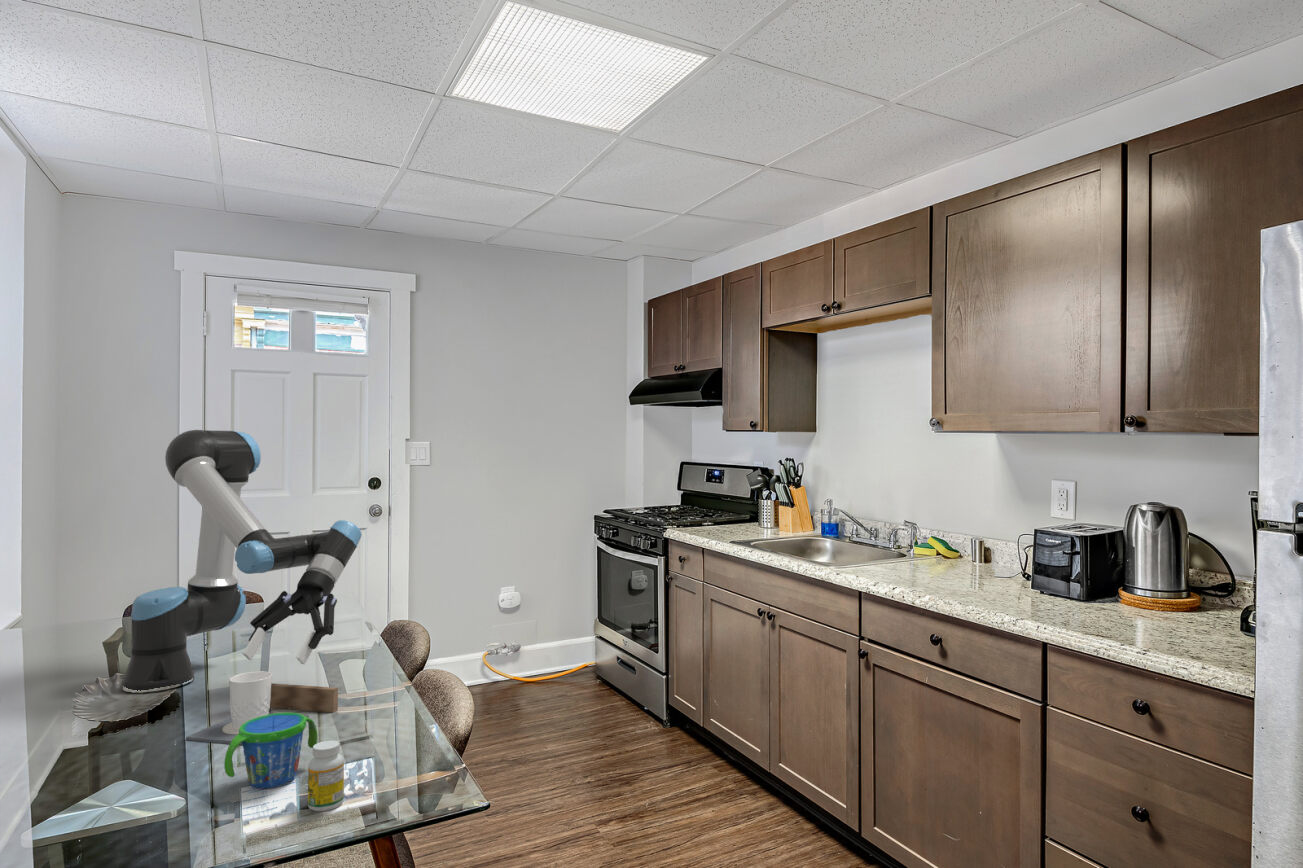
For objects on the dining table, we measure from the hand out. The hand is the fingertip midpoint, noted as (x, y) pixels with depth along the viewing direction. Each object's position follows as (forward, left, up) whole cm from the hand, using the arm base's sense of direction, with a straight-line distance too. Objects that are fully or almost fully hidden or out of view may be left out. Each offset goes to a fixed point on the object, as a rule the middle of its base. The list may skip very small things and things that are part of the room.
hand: (273, 659), depth 161 cm
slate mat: (-1, -6, -13) cm, 14 cm away
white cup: (-1, -6, -12) cm, 14 cm away
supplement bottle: (+37, -33, -13) cm, 51 cm away
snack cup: (+22, -27, -13) cm, 37 cm away
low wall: (-1, +7, -13) cm, 15 cm away
